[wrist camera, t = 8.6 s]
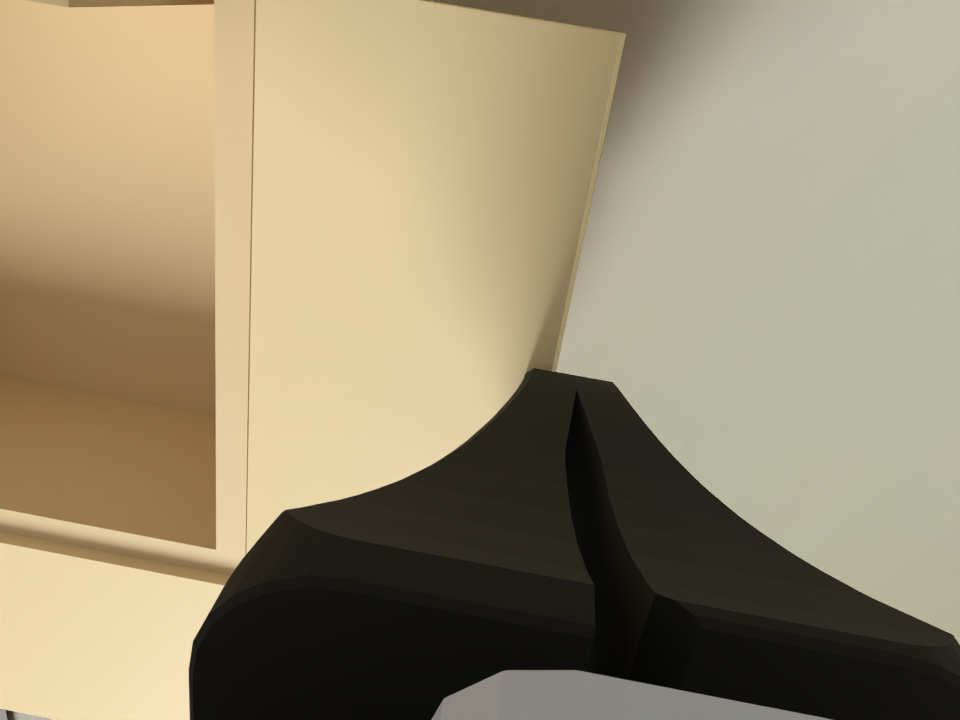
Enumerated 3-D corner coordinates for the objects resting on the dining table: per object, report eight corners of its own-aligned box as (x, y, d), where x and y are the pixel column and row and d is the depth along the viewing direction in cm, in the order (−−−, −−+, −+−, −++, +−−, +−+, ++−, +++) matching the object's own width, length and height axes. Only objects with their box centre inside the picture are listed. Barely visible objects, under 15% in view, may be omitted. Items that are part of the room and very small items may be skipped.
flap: (246, 569, 15) (262, 550, 16) (493, 651, 14) (502, 628, 15) (256, -28, 11) (278, -25, 11) (620, 34, 10) (626, 33, 10)
